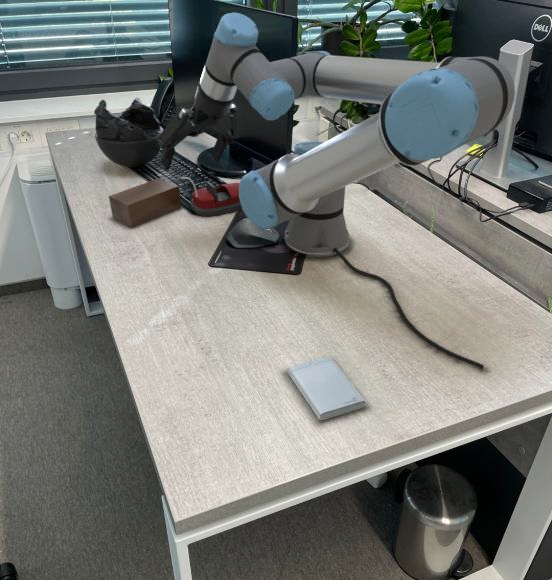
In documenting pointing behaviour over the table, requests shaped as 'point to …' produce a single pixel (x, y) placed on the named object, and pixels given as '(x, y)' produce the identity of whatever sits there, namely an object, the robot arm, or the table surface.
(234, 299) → the table surface
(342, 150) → the robot arm
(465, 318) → the table surface
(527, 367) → the table surface
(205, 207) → the bumper car
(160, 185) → the walnut block
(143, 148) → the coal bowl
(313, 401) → the hard drive
